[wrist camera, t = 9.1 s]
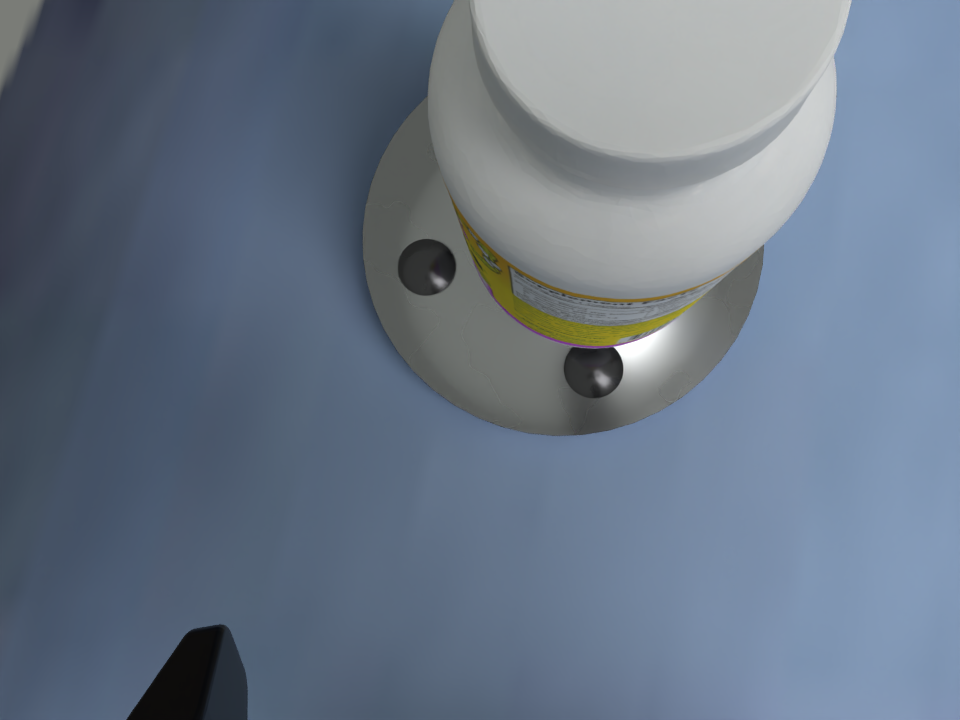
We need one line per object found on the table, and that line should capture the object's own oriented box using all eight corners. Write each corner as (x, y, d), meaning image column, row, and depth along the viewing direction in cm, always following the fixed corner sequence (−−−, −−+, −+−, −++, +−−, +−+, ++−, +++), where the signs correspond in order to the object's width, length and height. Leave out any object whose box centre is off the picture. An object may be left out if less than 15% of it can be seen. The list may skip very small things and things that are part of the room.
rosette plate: (799, 385, 23) (812, 383, 22) (415, 475, 23) (409, 476, 22) (698, 19, 24) (705, 1, 23) (334, 111, 25) (326, 96, 24)
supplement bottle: (498, 95, 23) (456, -324, 11) (734, 140, 23) (989, -244, 10) (445, 326, 23) (333, 177, 10) (685, 378, 22) (889, 289, 10)
